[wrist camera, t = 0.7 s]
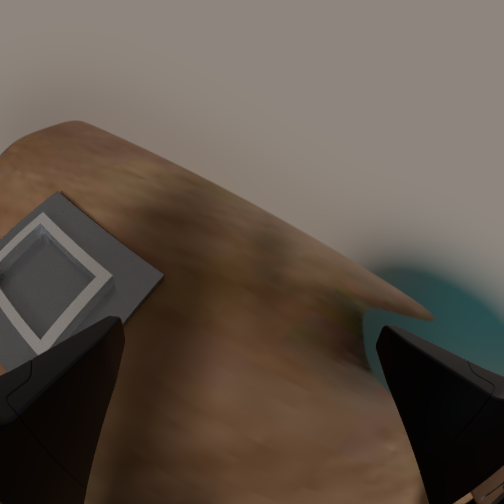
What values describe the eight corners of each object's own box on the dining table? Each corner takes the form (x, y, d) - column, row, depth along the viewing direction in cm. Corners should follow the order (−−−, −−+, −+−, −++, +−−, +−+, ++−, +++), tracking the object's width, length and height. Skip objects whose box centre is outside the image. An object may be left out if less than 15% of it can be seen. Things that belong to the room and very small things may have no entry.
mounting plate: (54, 420, 13) (43, 419, 11) (-40, 292, 13) (-50, 280, 12) (163, 279, 23) (165, 265, 21) (58, 196, 24) (55, 180, 22)
